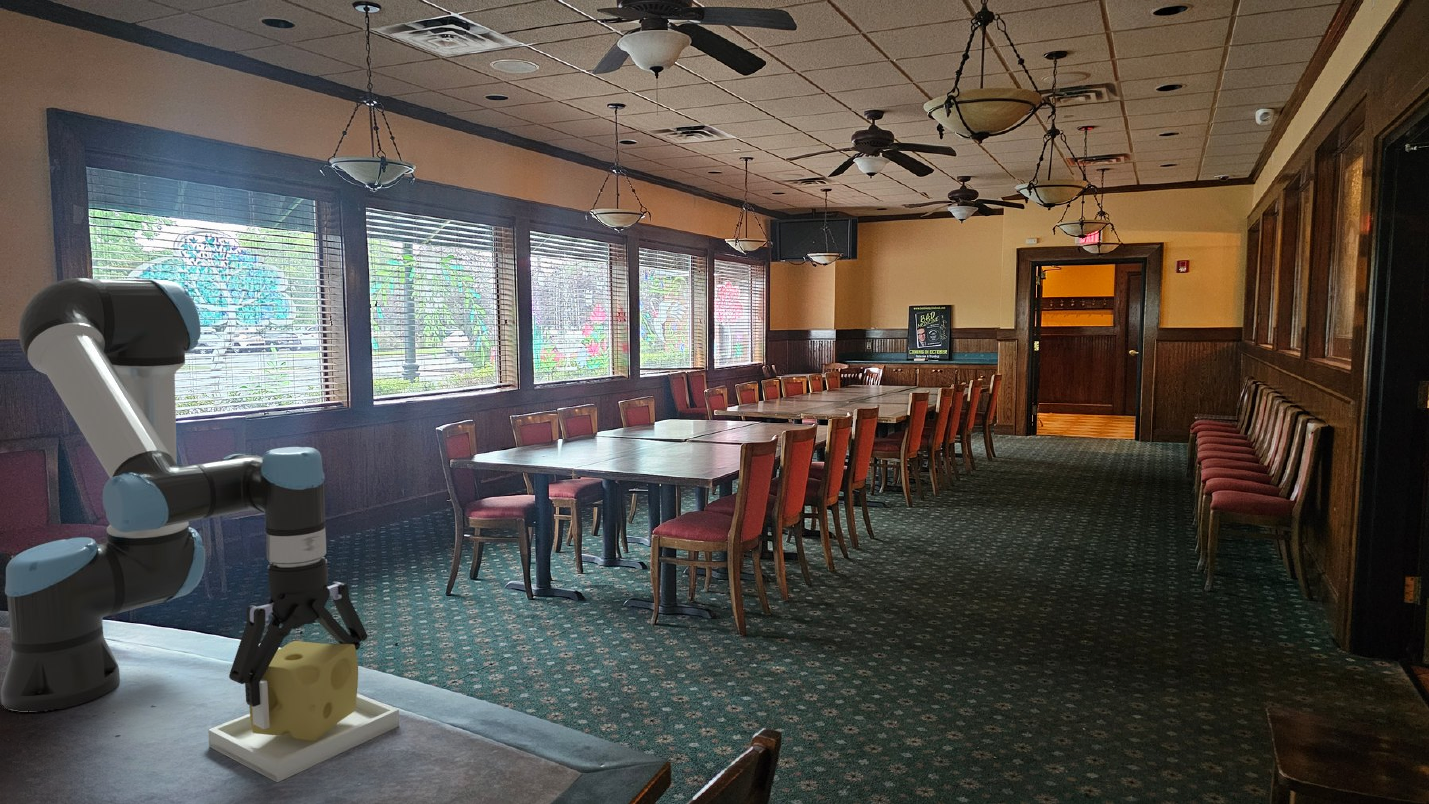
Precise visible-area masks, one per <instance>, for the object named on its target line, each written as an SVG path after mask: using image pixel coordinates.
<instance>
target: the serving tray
mask: <svg viewBox="0 0 1429 804" xmlns="http://www.w3.org/2000/svg"><path fill="white" fill-rule="evenodd" d="M398 727H400V709H398V708H396V707H393V706H390V705H388V704H385V703H384V702H380V701H378V700H375V699H372V698H370V697H367V696H365V695H362V694H361V693H359V692H357V698H356V705H355V711H354V712H353V713H351V714H350V715H348V716H347V717H345V718H344V719H342V720H341V721H340V722H338V723H337V724H335V725H334V726H333V727H331V728H330V729H329V730H327V731H326V732H325V733H324V734H323V735H322V736H320V737H319V738H318V739H317V740H315V741H308V740H303V739H297V738H293V737H292V735H291V733H287V734H283V735H266V734H256V733H253V732H252V726H251V719H250V713H247V714H244V715H243V716H240V717H238V718H235V719H232V720H229V721H227V722H224V723H220V724H219V725H217V726H214V727H212V728H209V729H208V730H207V731H208V732H207V734H208V735H207V736H208V747H209V748H210V749H213V750H214V751H217V752H218V753H220V754H222V755H224V756H225V757H228V758H230V759H231V760H234V761H236V762H237V763H239V764H241V765H243V766H245V767H247V768H249V769H250V770H253V771H254V772H256V773H258V774H260V775H262V776H264V777H266V778H268V779H270V780H272V781H274V782H276V783H280V782H282V781H283V780H285V779H288V778H289V777H292V776H294V775H296V774H298V773H301V772H303V771H305V770H307V769H309V768H312V767H314V766H316V765H318V764H320V763H322V762H324V761H327V760H330V759H331V758H333V757H335V756H338V755H340V754H341V753H344V752H346V751H348V750H350V749H353V748H355V747H357V746H359V745H361V744H363V743H365V742H369V741H370V740H373V739H374V738H376V737H379V736H381V735H382V734H385V733H387V732H389V731H391V730H394V729H396V728H398Z"/></svg>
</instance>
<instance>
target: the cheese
mask: <svg viewBox="0 0 1429 804" xmlns="http://www.w3.org/2000/svg"><path fill="white" fill-rule="evenodd" d="M358 664H359V662H358V655H357V650H356V648H355V645H354V644H339V643H323V642H322V643H319V642H309V641H308V642H307V641H302V640H301V641H299V640H293V641H292V642H290V643H287V644H285V645H284V646H282V647H281V648H280V647H279V648H278V650H277V652H276V654H275V656H274V657H273V659H272V661H271V663H270V665H269V666H268V668H267V670H266V672H265V674H264V675H263V677H262V679H263V680H266V681H267V687H268V705H269V724H270V727H269V728H267V729H262V728H260V727H258V726H256V725H254V724H253V711H252V706H250V705H248V706H249V714H250V719H251V726H252V732H253V733H256V734H266V735H283V734H287V733H291V735H292V737H293V738H297V739H303V740H308V741H315V740H317V739H318V738H319V737H320V736H322V735H323V734H324V733H325V732H326V731H327V730H329V729H330V728H331V727H333V726H334V725H335V724H337V723H338V722H340V721H341V720H342V719H344V718H345V717H347V716H348V715H350V714H351V713H353V712H354V711H355V705H356V698H357V693H358V685H359V665H358Z"/></svg>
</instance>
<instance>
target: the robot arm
mask: <svg viewBox="0 0 1429 804" xmlns="http://www.w3.org/2000/svg"><path fill="white" fill-rule="evenodd" d="M201 332H202V331H201V321H200V315H199V312H198V308H197V306H196V304H195V302H194V299H193V298H192V296H190V294H189V292H188V291H187V289H185V288H184V287H183V286H182V285H180V283H177V282H175V281H172V280H166V279H165V280H164V279H152V278H150V277H149V278H86V277H74V278H73V277H72V278H67V279H62V280H58V281H56V282H54V283H51V284H48V285H47V286H45V287H44V288H42V289H40V290H39V291H38V292H37V293H36V294H35V295H34V296H33V297H31V299H30V301H28V303H27V304H26V306H25V307H24V310H23V312H22V314H21V316H20V319H19V324H18V338H19V343H20V347H21V350H22V352H23V354H24V355H25V357H26V359H27V361H28V362H29V364H30V365H31V367H33V369H34V370H36V371H37V372H39V373H42V374H44V375H47V378H48V379H49V381H50V383H51V384H52V385H53V387H54V389H55V391H56V392H57V394H58V396H59V397H60V399H61V400H62V402H63V404H64V406H65V407H66V408H67V410H68V412H69V413H70V415H71V416H72V418H73V421H74V422H75V423H76V425H77V426H78V428H79V430H80V431H81V433H82V435H83V436H84V438H85V439H86V441H87V443H88V445H89V446H90V448H91V450H92V451H93V453H94V454H95V456H96V458H97V459H98V461H99V463H100V464H101V466H102V467H103V469H104V472H106V474H107V476H108V477H109V479H108V480H107V481H106V482H105V484H104V486H103V490H102V506H103V509H104V511H105V517H106V519H107V521H108V523H109V525H108V526H107V527H106V541H105V542H103V543H99V544H98V543H97V542H96V540H95V539H94V538H91V537H81V536H79V537H78V536H77V537H71V538H69V539H57V540H53V541H50V542H46V543H43V544H39V545H36V546H34V547H30V548H28V549H26V550H24V551H22V552H20V553H18V554H17V555H16V556H14V557H13V558H12V559H10V560H9V562H8V563H7V565H6V567H5V587H4V593H5V595H6V599H7V600H6V601H7V612H8V613H7V614H8V622H9V632H10V644H11V655H10V659H9V662H8V665H7V668H6V672H5V675H4V678H3V682H2V685H1V688H0V698H1V699H0V700H1V706H2V705H3V706H4V707H5V708H7V709H13V710H18V711H28V712H29V711H45V710H51V709H58V710H63V709H66V708H71V707H76V706H78V705H82V704H85V703H88V702H91V701H94V700H95V699H98V698H100V697H103V696H104V695H107V694H108V693H110V692H112V691H114V689H115V688H117V686H119V684H120V682H121V675H120V666H119V664H118V662H117V660H116V658H115V656H114V654H113V652H112V650H111V648H110V646H109V644H108V643H107V641H106V638H105V636H104V626H103V623H104V621H103V618H105V617H109V616H113V615H116V614H120V613H124V612H129V611H131V610H136V609H140V608H143V607H147V606H152V605H156V604H161V603H163V604H164V603H167V602H171V601H172V600H173V599H176V598H177V599H178V598H180V597H185V596H186V595H189V594H190V593H191V592H193V591H194V590H195V588H196V587H197V586H198V585H199V583H200V582H201V581H202V577H203V575H204V571H205V564H206V552H205V547H204V546H203V545H202V544H203V539H202V536H201V535H200V533H199V532H198V531H197V530H196V529H195V528H193V527H190V523H189V522H192V521H198V520H203V519H210V518H216V517H220V516H225V515H231V514H236V513H240V512H246V511H256V512H260V513H264V522H265V524H264V525H265V537H266V539H265V541H266V542H265V543H266V545H265V546H266V559H267V561H268V562H269V564H268V565H267V577H268V578H267V580H268V590H269V593H270V598H269V601H268V603H267V604H263V605H259V606H257V605H249V606H248V607H247V609H246V624H245V627H244V630H243V632H242V633H243V634H242V636H241V639H240V642H239V645H238V648H237V651H236V653H235V656H234V660H233V663H232V666H231V669H230V672H229V674H228V678H229V679H230V680H231V681H233V682H234V683H235V682H236V683H237V684H240V685H244V688H245V690H244V691H245V702H246V704H247V705H248V706H249V705H250V706H252V711H253V724H254V725H256V726H258V727H260V728H262V729H267V728H269V727H270V724H269V705H268V687H267V681H266V680H263V679H262V677H263V675H264V674H265V672H266V670H267V668H268V666H269V665H270V663H271V661H272V659H273V657H274V656H275V654H276V652H277V650H279V649H280V646H281V644H282V643H283V641H284V639H285V638H286V637H288V636H289V635H290V633H291V631H292V629H293V630H295V629H299V628H301V627H303V626H304V625H312V624H314V623H316V622H318V623H319V624H320V625H321V626H322V628H324V629H325V630H326V632H327V633H328V634H329V635H330V636H331V637H332V638H333V639H334V640H335V641H336V642H338V643H337V644H354V645H355V648H356V651H357V650H359V649H360V647H361V643H362V641H363V642H365V641H366V640H367V639H368V637H369V636H368V632H367V631H366V628H365V627H364V625H363V623H362V621H361V619H360V617H359V615H358V612H357V610H356V609H355V607H354V605H353V603H352V601H351V598H350V591H349V585H348V584H346V583H343V582H340V581H332V582H331V584H330V585H329V586H328V585H327V584H328V582H329V574H328V573H329V571H328V559H327V558H325V555H326V554H327V537H326V535H327V534H326V505H325V503H326V501H325V498H326V497H325V477H326V476H325V472H324V470H323V469H324V468H323V458H322V454H321V453H320V451H319V450H318V449H316V448H315V447H311V446H310V447H309V446H304V447H303V446H289V447H288V446H286V447H279V448H278V447H277V448H273V449H270V450H267V451H266V452H264V453H263V455H262V456H261V455H257V454H254V453H234V454H230V455H227V456H225V457H223V458H222V459H221V460H218V461H217V460H216V461H211V462H205V463H196V464H189V465H182V466H179V465H178V459H177V457H178V455H177V454H178V453H177V450H178V449H177V420H176V418H177V417H176V415H177V414H176V413H177V412H176V411H177V410H176V377H175V376H176V373H177V372H178V370H179V369H181V368H182V367H183V366H184V365H185V364H186V352H189V351H192V350H193V349H195V348H196V347H197V346H198V344H199V340H200V339H201ZM329 599H331V600H332V601H333V604H334V607H335V608H336V610H337V612H338V614H339V616H340V618H341V620H342V621H343V624H344V625H345V627H346V629H347V630H346V629H345V628H344V627H343V626H342V625H341V624H340V623H339V622H338V620H336V619H335V618H334V617H333V614H332V613H331V612H330V611H329V610H328V609H327V608H326V607H325V606H326V604H327V602H328V600H329ZM269 615H272V618H271V620H270V621H269V619H270V618H269ZM268 621H269V624H268V625H267V627H266V622H268ZM280 625H281V627H280ZM265 628H267V630H266V633H265V634H264V631H265ZM347 631H348V632H347ZM263 635H264V636H263ZM262 637H263V638H262ZM3 706H2V707H3ZM5 708H4V709H5ZM45 712H46V711H45Z"/></svg>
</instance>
